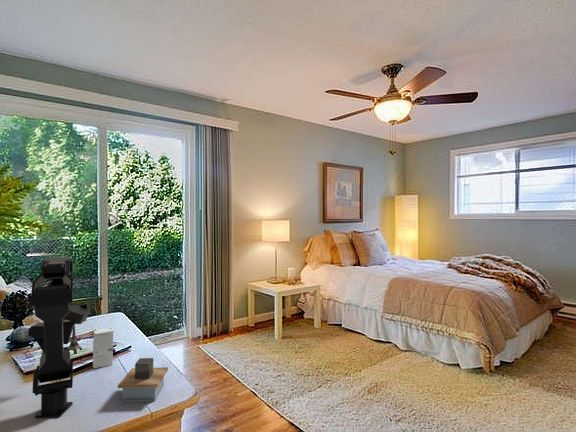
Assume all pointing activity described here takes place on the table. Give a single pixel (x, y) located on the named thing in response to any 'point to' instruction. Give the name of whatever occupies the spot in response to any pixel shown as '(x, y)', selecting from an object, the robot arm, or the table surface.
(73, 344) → the eiffel tower figurine
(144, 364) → the lid
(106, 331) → the skincare box
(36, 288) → the robot arm
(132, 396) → the grey open-top tray
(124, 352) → the table surface
